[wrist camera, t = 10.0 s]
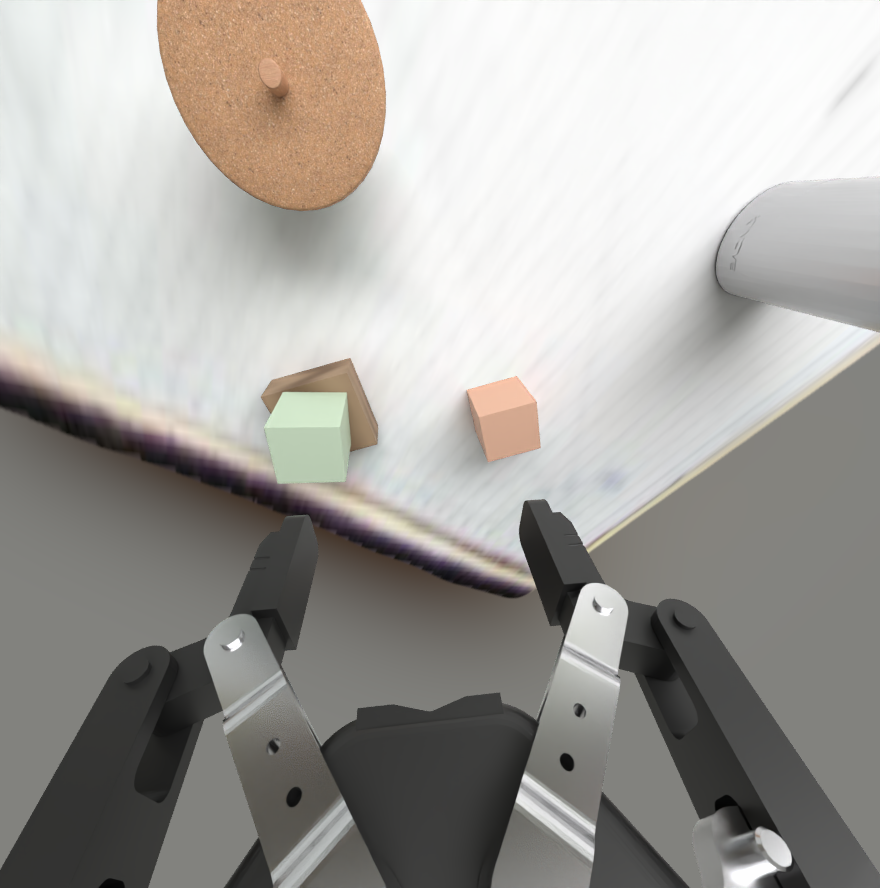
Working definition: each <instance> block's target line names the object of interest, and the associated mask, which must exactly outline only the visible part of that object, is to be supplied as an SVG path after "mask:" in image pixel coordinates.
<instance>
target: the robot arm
mask: <svg viewBox="0 0 880 888" xmlns="http://www.w3.org/2000/svg"><path fill="white" fill-rule="evenodd" d="M716 275H717V279H718V282H719V284H720V285H721V287H722V288H723V290H725V291H726V292H728V293H729V294H733V295H736V296H740V297H744V298H748V299H752V300H755V301H759V302H763V303H766V304H770V305H774V306H778V307H782V308H786V309H790V310H794V311H798V312H801V313H805V314H809V315H813V316H817V317H821V318H825V319H829V320H833V321H837V322H841V323H845V324H849V325H853V326H857V327H861V328H864V329H868V330H872V331H876V332H880V177H864V178H847V179H827V180H810V181H794V182H787V183H782V184H779V185H777V186H774V187H772V188H770V189H768V190H766V191H765V192H763V193H762V194H760V195H759V196H757V197H756V198H755V199H754V200H753V201H751V202H750V203H749V204H748V205H747V206H746V207H745V208H744V209H743V210H742V211H741V213H740V214H739V215H738V216H737V217H736V219H735V220H734V222H733V223H732V225H731V226H730V228H729V229H728V231H727V233H726V235H725V237H724V239H723V241H722V243H721V246H720V249H719V252H718V255H717V262H716ZM519 537H520V542H521V546H522V548H523V551H524V554H525V557H526V560H527V562H528V565H529V568H530V571H531V573H532V576H533V579H534V582H535V585H536V587H537V590H538V593H539V596H540V598H541V601H542V604H543V607H544V610H545V613H546V615H547V618H548V621H549V624H550V626H556V625H561V627H562V630H563V633H564V637H563V639H562V642H561V645H560V649H559V652H558V655H557V658H556V661H555V664H554V667H553V670H552V673H551V677H550V679H549V683H548V686H547V689H546V692H545V694H544V697H543V700H542V703H541V706H540V709H539V712H538V715H537V718H536V720H535V719H534V718H533V717H531V716H530V715H528V714H527V713H525V712H524V711H522V710H520V709H518V708H516V707H513V706H511V705H508V704H504V703H502V702H501V697H500V693H493V694H483V695H474V696H466V697H463V698H461V699H459V700H457V701H454V702H452V703H450V704H447V705H445V706H443V707H441V708H438V709H436V710H434V711H430V712H429V711H423V710H418V709H413V708H408V707H403V706H398V705H384V706H375V707H366V708H358V710H357V720H355V721H352V722H350V723H349V724H347V725H345V726H344V727H342V728H341V729H339V730H338V731H337V732H335V733H334V734H333V735H332V736H331V737H330V738H329V739H328V740H327V741H326V742H325V743H324V744H323V745H321V743H320V741H319V739H318V737H317V735H316V733H315V731H314V729H313V727H312V726H311V724H310V722H309V720H308V718H307V716H306V714H305V712H304V710H303V708H302V706H301V704H300V702H299V700H298V698H297V696H296V694H295V692H294V690H293V688H292V686H291V684H290V682H289V680H288V678H287V676H286V674H285V672H284V670H283V668H282V666H281V663H282V659H283V655H284V651H285V650H296V647H297V644H298V639H299V635H300V630H301V627H302V623H303V618H304V614H305V610H306V606H307V602H308V597H309V593H310V588H311V585H312V580H313V576H314V572H315V567H316V563H317V559H318V543H317V539H316V536H315V533H314V529H313V526H312V523H311V519H310V517H309V515H300V516H287V517H286V518H285V519H284V521H283V524H282V527H281V529H280V532H271V533H270V534H269V535H268V536H267V537H266V538H265V539H264V540H263V541H262V543H261V544H260V545H259V548H258V550H257V552H256V555H255V557H254V560H253V562H252V564H251V567H250V571H249V572H248V574H247V576H246V579H245V581H244V583H243V586H242V588H241V591H240V593H239V595H238V598H237V600H236V603H235V605H234V607H233V610H232V612H231V614H230V616H229V618H228V619H225V620H224V621H222V622H221V623H220V624H218V625H217V626H216V627H215V628H214V629H213V630H212V631H211V633H210V634H209V636H208V637H207V638H205V639H203V640H201V641H198V642H196V643H193V644H190V645H188V646H185V647H183V648H180V649H178V650H175V651H172V652H169V651H168V650H167V649H166V648H164V647H162V646H149V647H146V648H143V649H141V650H139V651H137V652H135V653H133V654H132V655H130V656H129V657H127V658H126V659H125V660H124V661H122V662H121V663H120V664H119V665H118V667H116V669H115V670H114V671H113V672H112V674H111V675H110V677H109V678H108V680H107V682H106V684H105V686H104V687H103V689H102V691H101V693H100V694H99V696H98V698H97V700H96V702H95V703H94V705H93V707H92V709H91V710H90V712H89V714H88V716H87V717H86V719H85V721H84V723H83V725H82V726H81V728H80V730H79V732H78V733H77V735H76V737H75V739H74V740H73V742H72V744H71V746H70V747H69V749H68V751H67V753H66V755H65V756H64V758H63V760H62V762H61V763H60V765H59V767H58V769H57V770H56V772H55V774H54V776H53V778H52V779H51V781H50V783H49V785H48V786H47V788H46V790H45V792H44V793H43V795H42V797H41V799H40V801H39V802H38V804H37V806H36V808H35V809H34V811H33V813H32V815H31V816H30V819H29V820H28V822H27V824H26V825H25V827H24V829H23V831H22V832H21V834H20V836H19V838H18V840H17V841H16V843H15V845H14V847H13V848H12V850H11V852H10V854H9V855H8V857H7V859H6V861H5V862H4V864H3V866H2V868H1V870H0V888H148V886H149V883H150V880H151V877H152V874H153V871H154V868H155V865H156V862H157V859H158V856H159V853H160V850H161V847H162V844H163V841H164V838H165V835H166V832H167V829H168V826H169V823H170V820H171V817H172V814H173V811H174V808H175V805H176V802H177V799H178V796H179V793H180V790H181V787H182V784H183V781H184V778H185V775H186V772H187V769H188V766H189V763H190V760H191V757H192V754H193V751H194V748H195V745H196V742H197V739H198V736H199V733H200V730H201V727H202V724H203V721H204V719H205V718H208V717H210V716H212V715H214V714H216V713H218V712H221V711H223V712H224V716H225V719H224V720H223V728H224V732H225V735H226V738H227V741H228V744H229V748H230V751H231V754H232V757H233V760H234V763H235V766H236V769H237V772H238V775H239V778H240V781H241V784H242V787H243V790H244V793H245V797H246V800H247V803H248V805H249V809H250V812H251V815H252V818H253V821H254V824H255V827H256V830H257V833H258V836H259V837H258V839H257V840H256V842H255V843H254V845H253V846H252V848H251V849H250V850H249V852H248V854H247V855H246V856H245V858H244V859H243V861H242V862H241V864H240V865H239V866H238V868H237V869H236V871H235V872H234V874H233V875H232V877H231V878H230V880H229V881H228V883H227V884H226V886H225V887H224V888H689V886H688V885H687V884H686V883H685V882H684V881H683V880H682V878H681V877H680V876H679V875H678V874H677V873H676V872H675V871H674V870H673V869H672V868H671V867H670V865H669V864H668V863H667V862H666V861H665V860H664V859H663V858H662V857H661V856H660V854H659V853H658V852H657V851H656V850H655V849H654V848H653V847H652V846H651V845H650V843H649V842H648V841H647V840H646V839H645V838H644V837H643V836H642V835H641V834H640V832H639V831H637V829H636V828H635V827H634V826H633V825H632V824H631V823H630V821H629V820H628V819H627V818H626V817H625V816H624V815H623V814H622V813H621V812H620V811H619V810H618V808H617V807H616V806H615V805H614V804H613V803H612V802H611V801H610V800H609V799H608V798H607V797H606V795H605V794H604V793H603V792H602V787H603V781H604V775H605V770H606V764H607V758H608V752H609V746H610V741H611V735H612V728H613V723H614V717H615V712H616V706H617V700H618V694H619V688H620V677H619V676H618V669H622V670H626V671H630V672H633V673H635V675H636V677H637V680H638V682H639V684H640V686H641V689H642V691H643V693H644V695H645V698H646V700H647V702H648V704H649V707H650V709H651V711H652V713H653V716H654V718H655V720H656V722H657V724H658V727H659V729H660V731H661V733H662V736H663V738H664V740H665V742H666V745H667V747H668V749H669V751H670V754H671V756H672V758H673V760H674V762H675V765H676V767H677V769H678V771H679V773H680V776H681V778H682V780H683V783H684V785H685V787H686V789H687V792H688V793H689V796H690V798H691V800H692V803H693V805H694V807H695V810H696V812H697V814H698V816H699V818H700V820H699V821H698V822H697V823H696V825H695V827H694V830H693V837H692V842H693V849H694V854H695V857H696V860H697V863H698V866H699V870H700V874H701V881H702V888H880V874H879V872H878V871H877V869H876V868H875V867H874V865H873V864H872V862H871V861H870V859H869V858H868V856H867V855H866V853H865V852H864V850H863V849H862V847H861V846H860V844H859V843H858V841H857V840H856V838H855V837H854V836H853V834H852V833H851V831H850V830H849V828H848V827H847V825H846V824H845V822H844V821H843V819H842V818H841V816H840V815H839V814H838V812H837V811H836V809H835V808H834V806H833V805H832V803H831V802H830V800H829V799H828V797H827V796H826V795H825V793H824V791H823V790H822V789H821V787H820V786H819V784H818V783H817V781H816V780H815V778H814V777H813V775H812V774H811V773H810V771H809V769H808V768H807V766H806V765H805V763H804V762H803V761H802V759H801V758H800V756H799V755H798V753H797V752H796V750H795V749H794V747H793V746H792V744H791V743H790V742H789V740H788V739H787V737H786V736H785V734H784V733H783V731H782V730H781V728H780V727H779V725H778V724H777V723H776V721H775V719H774V718H773V717H772V715H771V714H770V712H769V711H768V709H767V708H766V706H765V705H764V703H763V702H762V700H761V699H760V697H759V696H758V694H757V693H756V692H755V690H754V689H753V687H752V686H751V684H750V683H749V681H748V680H747V679H746V677H745V675H744V674H743V672H742V671H741V669H740V668H739V666H738V665H737V663H736V662H735V661H734V659H733V658H732V656H731V655H730V653H729V652H728V650H727V649H726V647H725V646H724V644H723V643H722V641H721V640H720V638H719V637H718V636H717V634H716V633H715V631H714V630H713V628H712V627H711V625H710V624H709V622H708V621H707V619H706V618H705V617H704V616H703V615H702V614H701V613H700V612H699V611H698V610H697V609H696V608H694V607H693V606H691V605H689V604H688V603H686V602H683V601H680V600H676V599H666V600H663V601H662V602H660V603H659V605H658V606H657V607H654V606H649V605H644V604H640V603H635V602H631V601H628V600H625V599H623V597H622V596H621V595H620V594H619V593H618V592H617V591H615V590H614V589H613V588H611V587H609V586H607V585H606V584H605V583H604V581H603V580H602V578H601V576H600V574H599V572H598V571H597V569H596V567H595V565H594V563H593V561H592V559H591V558H590V556H589V554H588V552H587V550H586V548H585V547H584V546H583V543H582V541H581V539H580V537H579V536H578V535H577V532H576V530H575V528H574V526H573V524H572V523H571V521H569V520H568V519H567V518H566V517H565V516H564V515H563V514H562V513H561V512H556V513H553V512H552V510H551V508H550V506H549V504H548V503H547V501H546V500H545V499H542V500H528V501H525V502H524V504H523V510H522V516H521V521H520V527H519Z"/></svg>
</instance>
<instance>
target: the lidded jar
mask: <svg viewBox="0 0 880 888" xmlns="http://www.w3.org/2000/svg"><path fill="white" fill-rule="evenodd" d="M157 31H158V40H159V48H160V55H161V59H162V63H163V67H164V72H165V76H166V79H167V82H168V85H169V88H170V90H171V93H172V96H173V99H174V102H175V104H176V106H177V108H178V110H179V112H180V114H181V116H182V118H183V120H184V122H185V124H186V126H187V127H188V129H189V131H190V132H191V134H192V136H193V137H194V139H195V141H196V142H197V144H198V145H199V146H200V148H201V149H202V150H203V151H204V153H205V154H206V155H207V157H208V158H209V159H210V161H211V162H212V163H213V164H214V165H215V166H216V167H217V168H218V169H219V170H220V171H221V172H222V173H223V174H224V175H225V176H226V177H227V178H228V179H230V180H231V181H232V182H233V183H234V184H236V185H237V186H238V187H239V188H241V189H242V190H244V191H245V192H247V193H249V194H250V195H252V196H253V197H255V198H257V199H259V200H261V201H263V202H266V203H268V204H270V205H273V206H277V207H280V208H283V209H289V210H297V211H309V210H318V209H322V208H326V207H329V206H332V205H334V204H336V203H338V202H340V201H342V200H343V199H345V198H346V197H347V196H349V195H350V194H351V193H352V192H354V191H355V189H356V188H357V187H358V186H359V185H360V184H361V183H362V182H363V181H364V179H365V177H366V176H367V174H368V173H369V171H370V169H371V168H372V166H373V163H374V161H375V158H376V156H377V154H378V151H379V147H380V144H381V140H382V136H383V130H384V122H385V113H386V91H385V81H384V71H383V65H382V61H381V56H380V52H379V47H378V43H377V40H376V37H375V34H374V31H373V28H372V25H371V22H370V20H369V17H368V15H367V13H366V11H365V9H364V7H363V4H362V2H361V0H158V2H157Z"/></svg>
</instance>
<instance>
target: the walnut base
mask: <svg viewBox="0 0 880 888" xmlns="http://www.w3.org/2000/svg"><path fill="white" fill-rule="evenodd" d="M283 392H347V400H348V412H349V424H350V435H351V447H350V452H351V451H354V450H358V449H361V448H365V447H369V446H372V445H376V444H377V438H378V425H377V422H376V420H375V417H374V415H373V412H372V410H371V407H370V405H369V403H368V400H367V398H366V395H365V393H364V390H363V388H362V385H361V383H360V381H359V378H358V376H357V373H356V371H355V368H354V366H353V363H352V361H351V359H350V358H349V359H345V360H341V361H338V362H334V363H331V364H327V365H324V366H320V367H317V368H313V369H310V370H306V371H303V372H299V373H295V374H292V375H288V376H285V377H281V378H278V379H274V380H272V381H271V382H270V384H269V385H268V387H267V388H266V390H265V391H264V393H263V394H262V396H261V398H262V400H263V402H264V403H265V405H266V407H267V408H268V410H269V411H270V413H272V412H273V410H274V408H275V406H276V404H277V402H278V400H279V399H280V397H281V395H282V393H283Z"/></svg>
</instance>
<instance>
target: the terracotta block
mask: <svg viewBox="0 0 880 888" xmlns="http://www.w3.org/2000/svg"><path fill="white" fill-rule="evenodd" d="M467 393H468V398H469V402H470V407H471V412H472V416H473V421H474V426H475V430H476V433H477V436H478V438H479V441H480V443H481V446H482V448H483V451H484V453H485V456H486V458H487V461H488V462H491V461H494V460H498V459H502V458H505V457H509V456H513V455H516V454H520V453H524V452H527V451H531V450H535V449H539V448H540V436H539V425H538V413H537V402H536V400H535V399H534V398H533V396H532V395H531V394H530V393H529V391H528V390H527V389H526V387H525V386H524V385H523V384H522V382H521V381H520V380H519V378H518V377H517V376H515V377H512V378H508V379H504V380H501V381H497V382H494V383H490V384H486V385H483V386H479V387H476V388H472V389H468V390H467Z"/></svg>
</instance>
